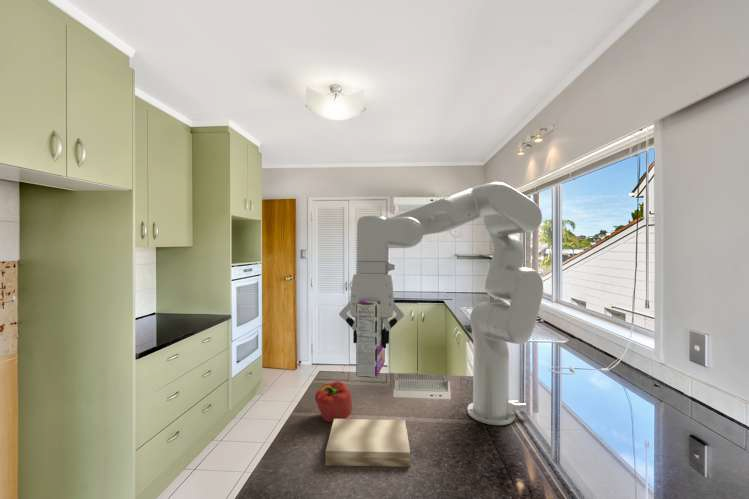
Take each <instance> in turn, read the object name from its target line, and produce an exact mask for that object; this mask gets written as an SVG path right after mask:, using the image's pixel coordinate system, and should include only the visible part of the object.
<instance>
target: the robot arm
mask: <svg viewBox="0 0 749 499" xmlns="http://www.w3.org/2000/svg"><path fill="white" fill-rule="evenodd" d="M542 214H543V212H542V211H541V209H540V207H539V205H538V204H537V203H536V202H535V201H533V200H532V199H530V198H529V197H527V195H525V194H523V193H521V192H520V191H519V190H517V189H516V188H513V187H512V186H510V185H508V184H506V183H504V182H501V181H500V182H499V181H494V182H489V183H484V184H481V185H476V186H473V187H470V188H467V189H464V190H462V191H459V192H455V193H454V194H451V195H449V196H446V197H443V198H440V199H438V200H435V201H432V202H429V203H427V204H425V205H422V206H420V207H417V208H414V209H411V210H409V211H405V212H403V213H400V214H398V215H395V216H392V217H385V216H380V215H363V216H360V217H359V218H358V219H357V222H356V261H355V262H356V267H355V269H356V271H355V273H354V274H353V276H352V280H351V286H350V296H349V297H350V298H349V299H350V300H349V302H348V303H347V304H346V305H345V306H344V307H343V308H342V310H341V311H340V312H339V314H338V315H339V317H341V319H343V320H344V321H345V322H346V323H347V325H348V326H350V328H351V329H352V330H353V338H352V341H353V344H356V303H357V302H359V301H380V312H381V318H382V320H383V323H384V329H383V348H385V349H386V348H387V345H390V331H391V329H392V328H393V327H395V325H396V324H397V323H398V322H400V321H401V320H402V319H403V318H404V317H405V314H404V312H403V311H402V310H401V308H399V306H397V304H396V303H395V302H394V301H395V300H394V286H393V277H392V274H389V272H390V271H395V266H396V265H395V264H392V263H390V262H389V260H390V259H389V253H390V252H389V250H390V249H410V248H413V247H415V246H417V245H419V243H420V242H422V239H423V237H424V236H428V235H432V234H433V235H434V234H439V233H444V232H445V233H446V232H448V231H452V230H454V229H457V228H458V227H461V226H463V225H465V224H467V223H468V224H469V223H470V222H473V221H475V220H477V219H479V218H483V223H484V227H485V228H486V231H487V232H488V234H489V236H490V238H491V240H492V243H493V252H492V256H491V257H492V258H491V261H490V263H489V264H490V265H489V268H488V270H487V275H486V279H485V285H484V290H485V292H486V294H488V296H490V297H492V298H494V299H497V300H503V301H509V304H504V303H498V302H493V301H492V302H491V301H482V302H478V303H476V305H474V307H473V308H472V310H471V312H470V318H469V320H470V321H469V322H470V327H471V332H472V334H471V335H472V340H473V341H472V342H473V370H472V373H473V379H472V380H473V381H472V383H473V384H472V385H473V386H472V387H473V389H472V392H473V393H472V401H473V402H471V403H469V404H468V405H467V409H466V410H467V414H468V415H469V416H470V417H471V418H472V419H473V420H476V421H478V422H480V423H482V424H487V425H493V426H506V425H509V424H512V423H513V422H514V421H515V416H516V415H515V412H516V411H519V412H526V411H527V409H528V407H527V404H526V403H525V402H523V403H522V402H519V401H518V400H517V399H515V400H512V399H511V400H510V399H509V398H510V396H509V395H510V351H509V347H508V343H511V344H514V345H523V344H525V343H527V342H528V341H529V340H531V337H532V335H533V334H534V330H535V327H536V324H537V319H538V314H539V312H540V307H541V304H542V299H543V295H544V282H543V279H542V276H541V275H540V273H539V272H538V271H537V270H536V269H533V268H530V267H523V265H524V260H525V259H524V258H525V248H524V245H523V243H522V241H521V239H520V238H519V235H517V234H528V233H533V232H534V231H536V230H537V229H538V228H539V227H540V226H541V224H542V220H543V215H542ZM348 312H349V314H350V316H349V315H348ZM394 313H395V316H394V317H393V315H394ZM352 317H353V318H354V319H353V318H352ZM390 318H391V319H390ZM389 319H390V320H389Z"/></svg>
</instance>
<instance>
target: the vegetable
mask: <svg viewBox="0 0 749 499" xmlns="http://www.w3.org/2000/svg"><path fill="white" fill-rule="evenodd" d="M314 398H315V399H314V400H315V403H316V405H317V408H318V410H319V412H320V415H321V417H322V418H323V420H324V421H325V422H329V423H333V421H334V419H348V418H349V417H350V415H351V413H352V410H353V400H352V395H351V391H350V390H349V388H348V386H347V385H346V384H345V383H344V382H342V381H334V382H331V383H330V382H329V383H325V384H323V385H322V386H321V387H320V388H318V389H317V390H316V392H315V394H314Z"/></svg>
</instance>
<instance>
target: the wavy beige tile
mask: <svg viewBox="0 0 749 499" xmlns="http://www.w3.org/2000/svg"><path fill="white" fill-rule="evenodd" d="M408 437H409V436H408V430H407V425H406V419H377V418H376V419H374V418H372V419H369V418H367V419H364V418H346V419H334V421H333V422H332V425H331V429H330V434H329V436H328V441H327V445H326V447H325V464H324V465H325V466H350V467H352V466H354V467H357V466H358V467H402V468H405V467H407V468H410V467H411V449H410V448H411V447H410V443H409V438H408Z"/></svg>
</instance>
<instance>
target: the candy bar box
mask: <svg viewBox="0 0 749 499" xmlns="http://www.w3.org/2000/svg"><path fill="white" fill-rule="evenodd" d="M383 329H384V323H383V320H382V318H381V312H380V301H359V302H357V303H356V343H355V349H356V350H355V351H356V352H355V353H356V355H355V356H356V358H355V359H356V360H355V361H356V362H355V368H356V370H355V375H356V377H359V378H368V379H369V378H372V379H377V378H378V377H379V374H380V372H381V370H382V368H383V366H384V365H385V362H386V348H383Z"/></svg>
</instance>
